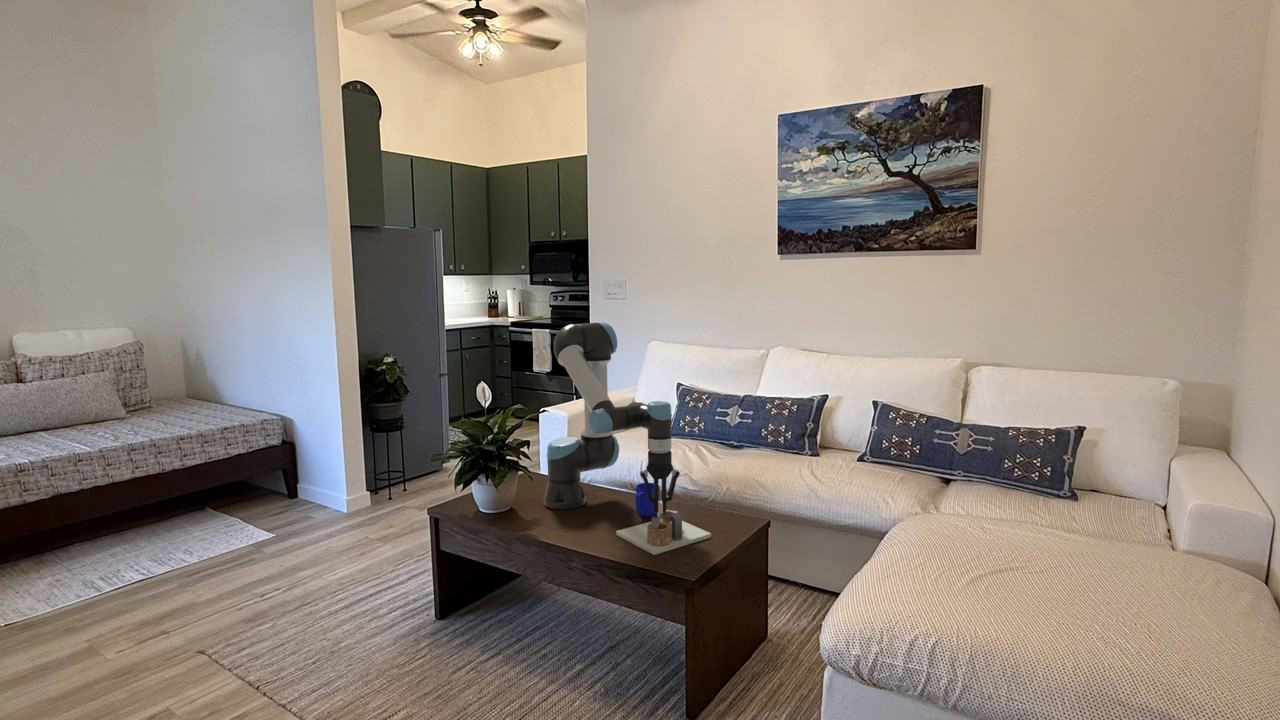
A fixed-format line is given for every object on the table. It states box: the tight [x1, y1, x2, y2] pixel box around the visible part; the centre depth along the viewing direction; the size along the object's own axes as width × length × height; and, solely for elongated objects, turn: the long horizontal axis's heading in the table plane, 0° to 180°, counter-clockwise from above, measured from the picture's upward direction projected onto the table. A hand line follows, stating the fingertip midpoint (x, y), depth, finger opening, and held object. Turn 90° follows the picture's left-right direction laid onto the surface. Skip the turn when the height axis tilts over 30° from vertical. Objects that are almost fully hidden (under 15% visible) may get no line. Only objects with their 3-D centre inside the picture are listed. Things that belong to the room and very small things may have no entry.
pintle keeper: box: [651, 511, 683, 541], centre depth 213 cm, size 7×10×9 cm
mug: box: [634, 482, 661, 518], centre depth 237 cm, size 8×12×10 cm
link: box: [647, 509, 679, 547], centre depth 216 cm, size 18×7×5 cm, turn 162°
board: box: [615, 520, 712, 556], centre depth 219 cm, size 20×22×1 cm
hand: (660, 521), depth 224 cm, fingers closed
